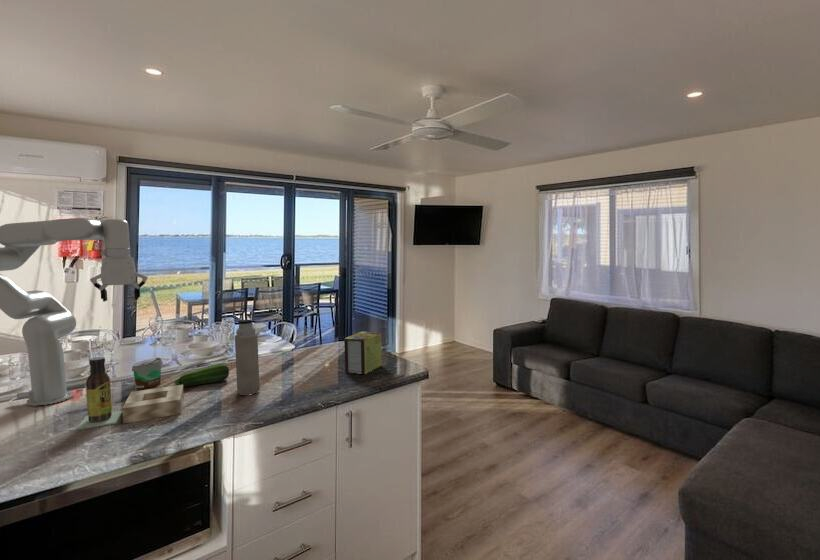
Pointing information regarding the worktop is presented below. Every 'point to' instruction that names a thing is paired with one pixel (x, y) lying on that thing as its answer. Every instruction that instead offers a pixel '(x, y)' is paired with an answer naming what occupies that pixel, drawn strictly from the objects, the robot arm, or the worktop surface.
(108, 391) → the sauce bottle
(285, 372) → the worktop surface
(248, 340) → the thermos bottle
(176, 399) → the socket block
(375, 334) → the protein box
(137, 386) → the food container
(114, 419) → the pad
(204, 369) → the vegetable
